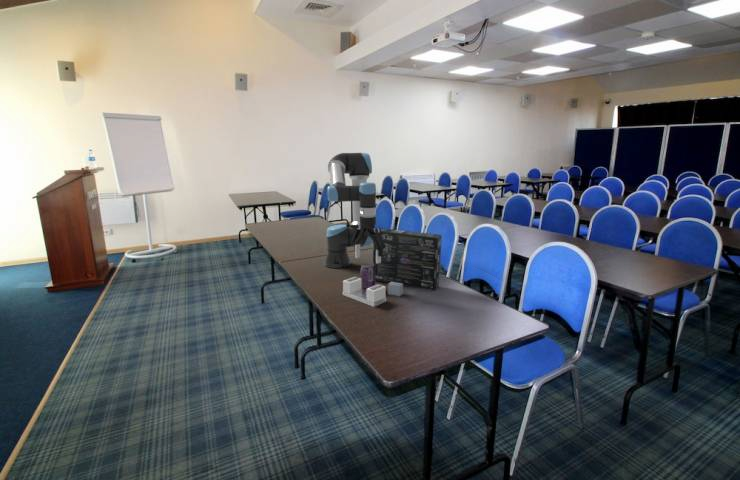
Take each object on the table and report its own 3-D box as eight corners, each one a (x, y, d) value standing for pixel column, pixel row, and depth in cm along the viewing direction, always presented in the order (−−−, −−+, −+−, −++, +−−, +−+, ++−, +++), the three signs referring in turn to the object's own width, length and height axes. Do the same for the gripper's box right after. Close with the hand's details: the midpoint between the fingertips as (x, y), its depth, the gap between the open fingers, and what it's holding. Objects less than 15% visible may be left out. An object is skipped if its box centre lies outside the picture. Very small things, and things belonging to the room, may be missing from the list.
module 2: (378, 294, 166) (378, 283, 165) (385, 297, 163) (385, 285, 162) (366, 299, 161) (366, 287, 160) (373, 302, 158) (374, 290, 157)
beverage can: (376, 286, 182) (377, 263, 179) (372, 291, 175) (372, 267, 172) (363, 285, 184) (363, 262, 181) (358, 290, 177) (358, 266, 174)
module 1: (354, 286, 176) (354, 275, 175) (361, 288, 173) (361, 277, 172) (343, 290, 171) (342, 279, 170) (349, 293, 168) (349, 281, 167)
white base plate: (354, 290, 177) (354, 286, 177) (386, 301, 164) (386, 297, 163) (342, 294, 171) (342, 290, 171) (374, 306, 158) (374, 302, 158)
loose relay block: (391, 291, 176) (391, 281, 175) (402, 293, 173) (402, 283, 172) (387, 294, 173) (387, 284, 171) (399, 296, 170) (399, 286, 169)
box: (439, 286, 183) (441, 233, 176) (435, 291, 176) (437, 236, 170) (377, 276, 196) (378, 227, 190) (372, 281, 190) (372, 230, 184)
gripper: (343, 214, 177) (344, 256, 181) (382, 220, 160) (382, 266, 165) (354, 212, 182) (355, 253, 187) (393, 218, 165) (392, 263, 170)
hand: (367, 260), depth 176 cm, fingers open, 13 cm apart
